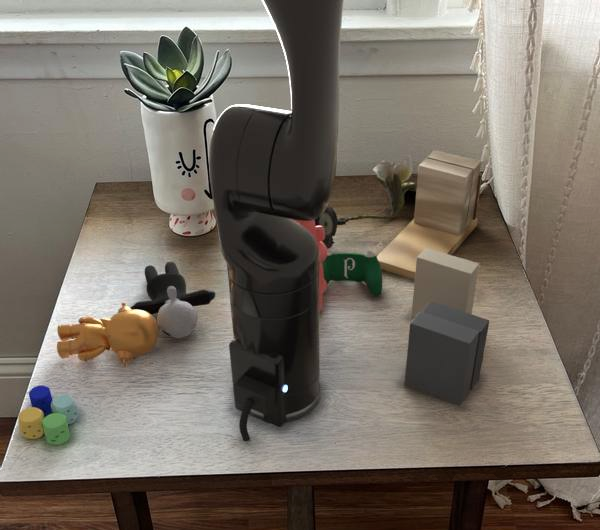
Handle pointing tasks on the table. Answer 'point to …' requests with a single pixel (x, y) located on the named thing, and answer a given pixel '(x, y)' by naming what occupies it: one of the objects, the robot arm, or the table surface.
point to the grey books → (445, 352)
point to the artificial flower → (393, 182)
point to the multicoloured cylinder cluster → (52, 424)
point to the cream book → (444, 281)
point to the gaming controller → (354, 269)
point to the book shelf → (416, 245)
